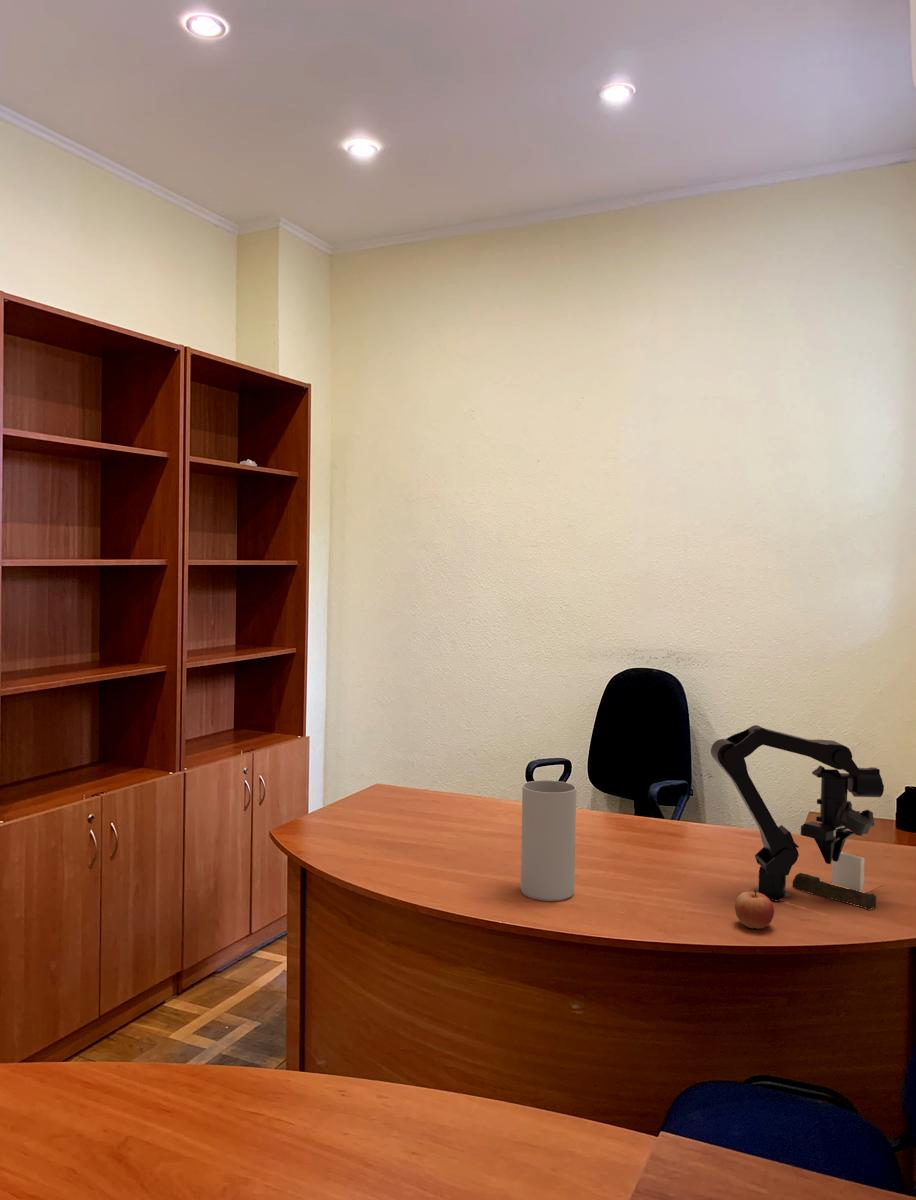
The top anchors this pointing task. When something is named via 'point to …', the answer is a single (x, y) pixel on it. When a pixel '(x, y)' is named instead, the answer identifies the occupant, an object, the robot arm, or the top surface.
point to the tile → (848, 871)
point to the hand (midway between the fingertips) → (831, 862)
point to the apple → (754, 909)
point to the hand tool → (833, 891)
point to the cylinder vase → (548, 840)
